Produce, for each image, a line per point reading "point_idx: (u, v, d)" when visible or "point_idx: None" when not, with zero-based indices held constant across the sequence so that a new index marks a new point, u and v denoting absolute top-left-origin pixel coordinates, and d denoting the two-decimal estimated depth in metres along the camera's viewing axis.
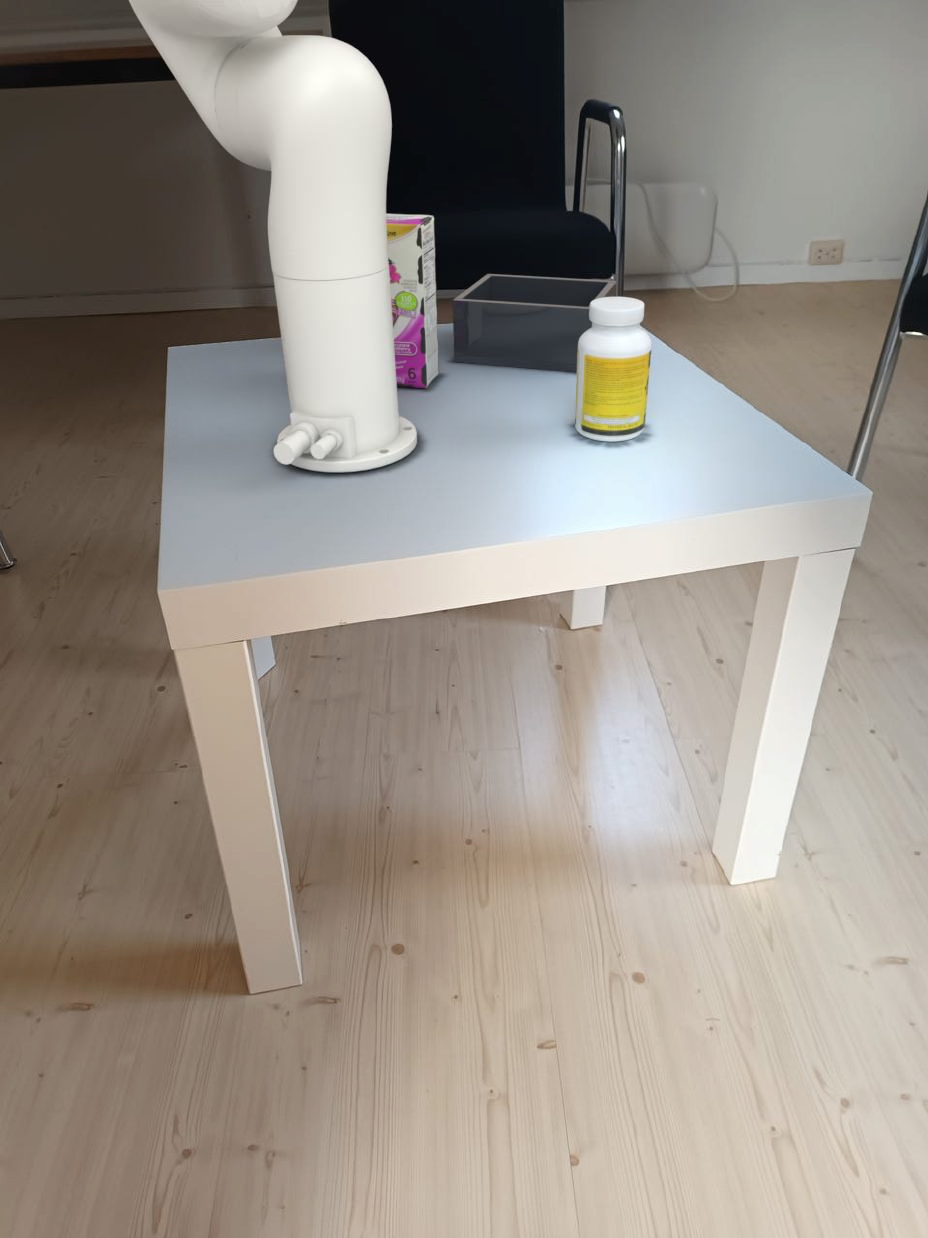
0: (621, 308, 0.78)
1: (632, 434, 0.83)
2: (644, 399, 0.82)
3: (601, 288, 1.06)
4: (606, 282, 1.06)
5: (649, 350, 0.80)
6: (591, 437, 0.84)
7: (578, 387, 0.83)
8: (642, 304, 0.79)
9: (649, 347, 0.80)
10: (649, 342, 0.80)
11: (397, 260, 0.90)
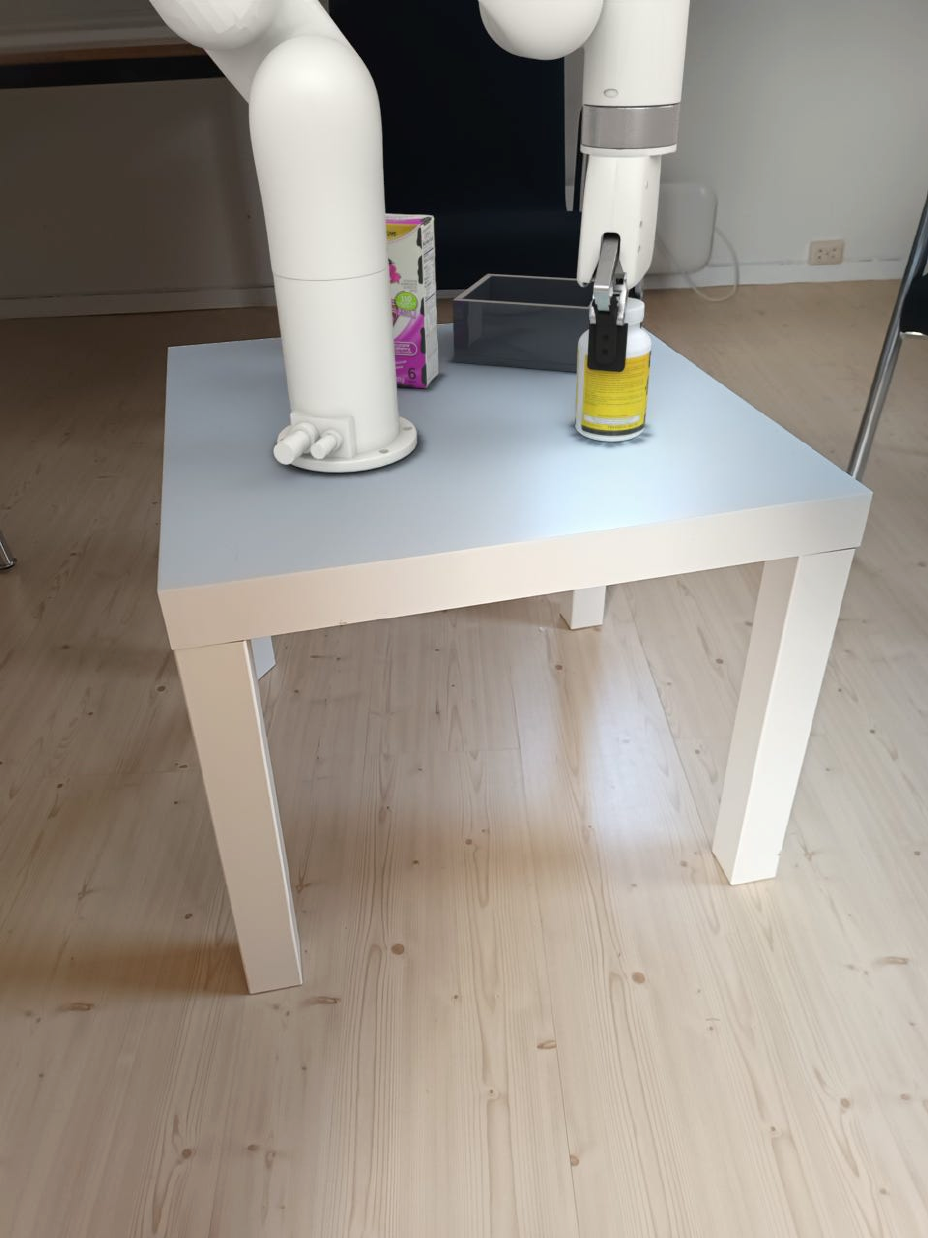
0: None
1: (632, 434, 0.83)
2: (644, 399, 0.82)
3: None
4: None
5: (649, 350, 0.80)
6: (591, 437, 0.84)
7: (578, 387, 0.83)
8: (642, 304, 0.79)
9: (649, 347, 0.80)
10: (649, 342, 0.80)
11: (397, 260, 0.90)
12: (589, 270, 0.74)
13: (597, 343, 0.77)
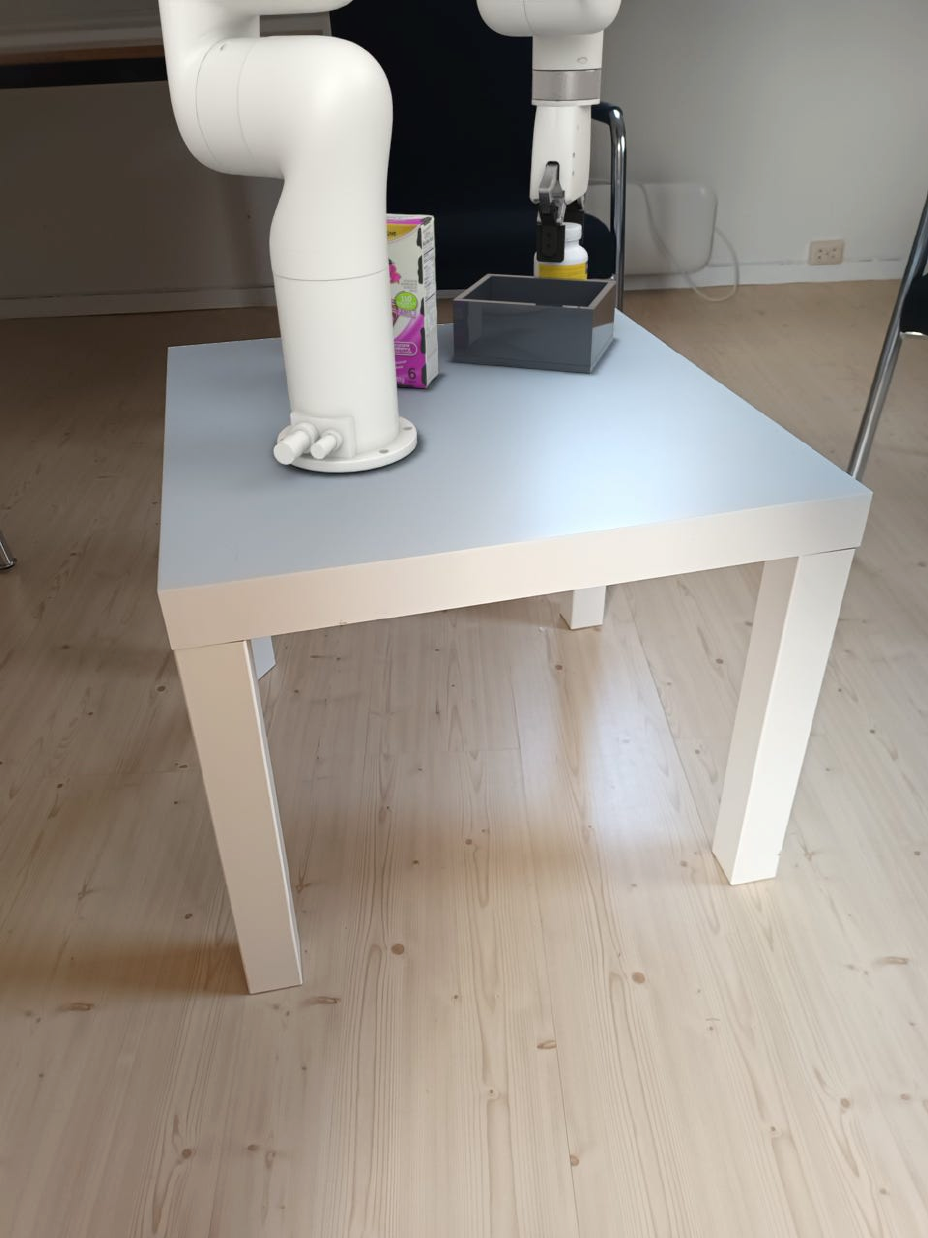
0: None
1: None
2: None
3: (601, 288, 1.06)
4: (606, 282, 1.06)
5: (585, 260, 1.10)
6: None
7: None
8: (579, 226, 1.08)
9: (585, 258, 1.10)
10: (585, 254, 1.10)
11: (397, 260, 0.90)
12: (538, 189, 1.03)
13: (543, 240, 1.05)
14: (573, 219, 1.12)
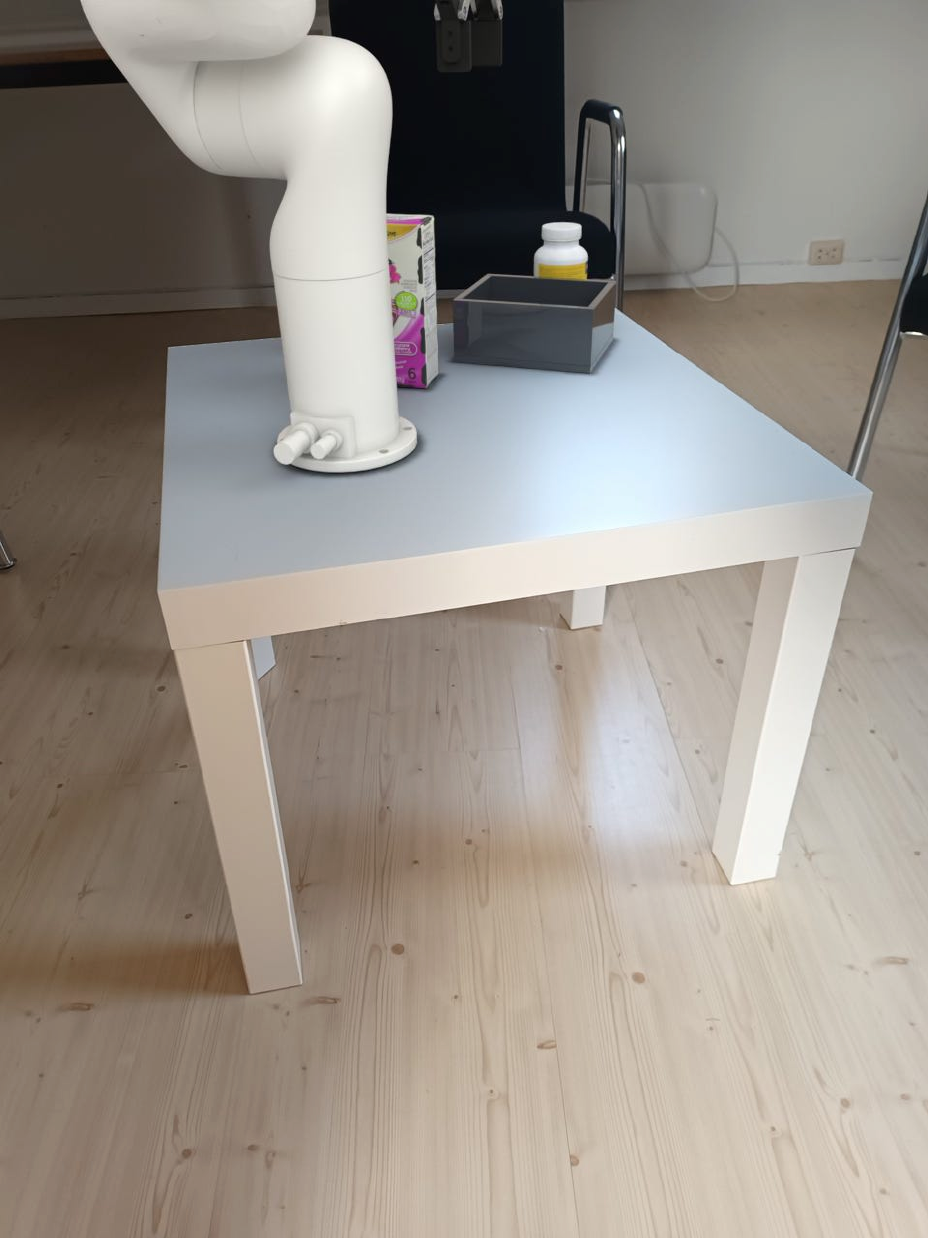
0: (563, 228, 1.07)
1: None
2: None
3: (601, 288, 1.06)
4: (606, 282, 1.06)
5: (585, 260, 1.10)
6: None
7: None
8: (579, 226, 1.08)
9: (585, 258, 1.10)
10: (585, 254, 1.10)
11: (397, 260, 0.90)
12: None
13: (443, 40, 0.84)
14: (488, 30, 0.92)
